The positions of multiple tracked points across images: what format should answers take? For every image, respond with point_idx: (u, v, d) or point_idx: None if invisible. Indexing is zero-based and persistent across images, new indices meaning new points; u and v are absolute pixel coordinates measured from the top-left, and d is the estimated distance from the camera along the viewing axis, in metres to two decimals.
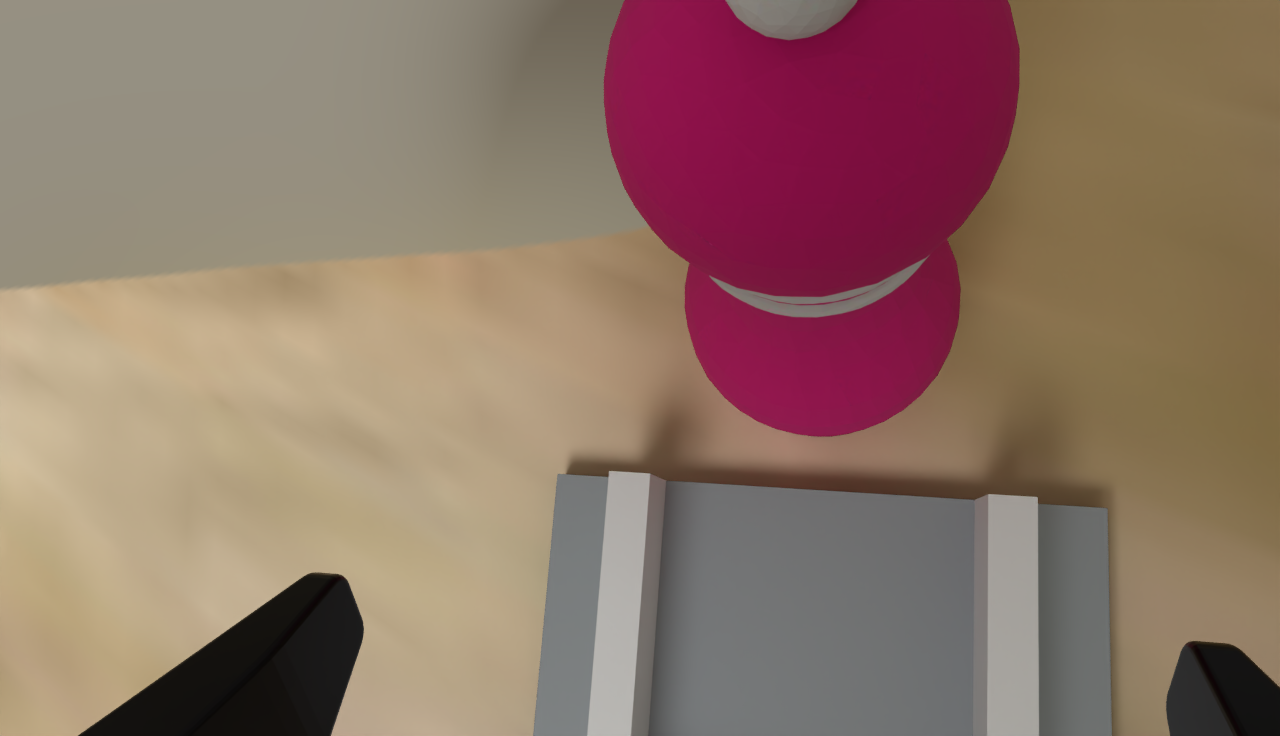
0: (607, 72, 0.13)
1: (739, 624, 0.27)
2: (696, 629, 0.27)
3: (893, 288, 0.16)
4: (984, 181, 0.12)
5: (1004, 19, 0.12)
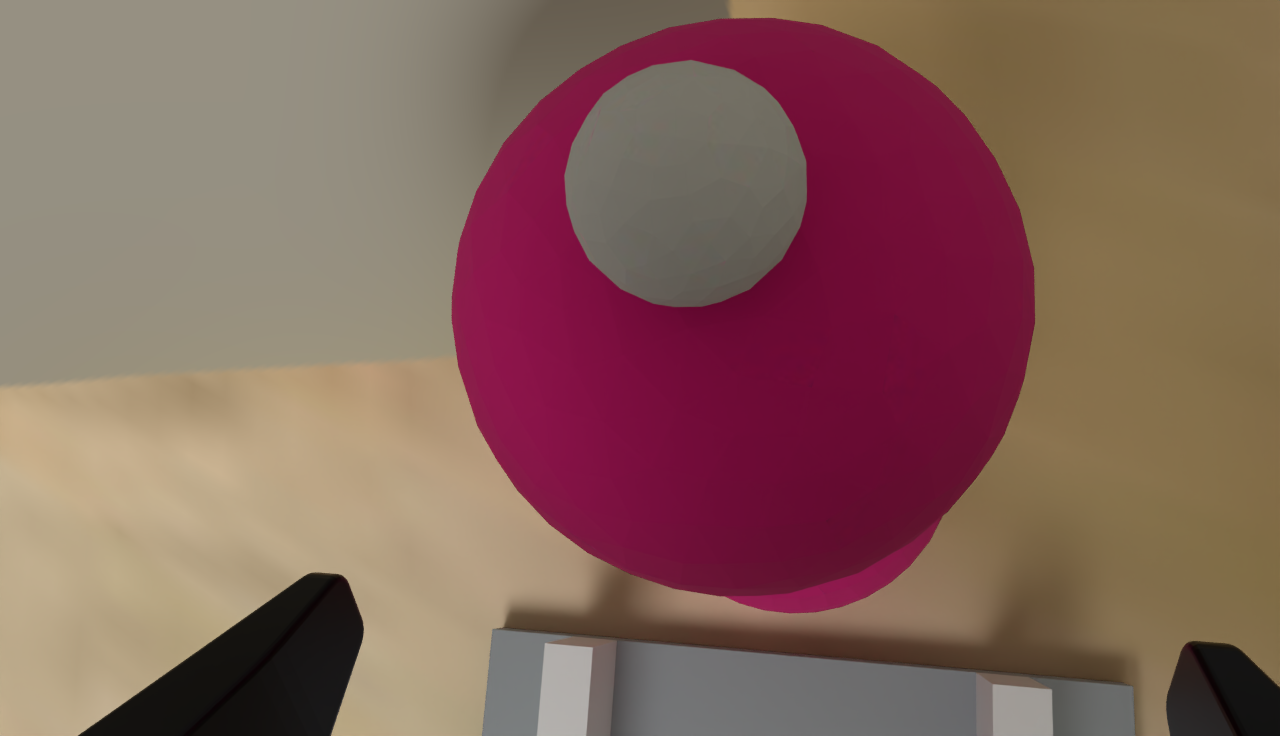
0: (453, 290, 0.09)
1: None
2: None
3: None
4: (986, 459, 0.09)
5: (1013, 240, 0.08)
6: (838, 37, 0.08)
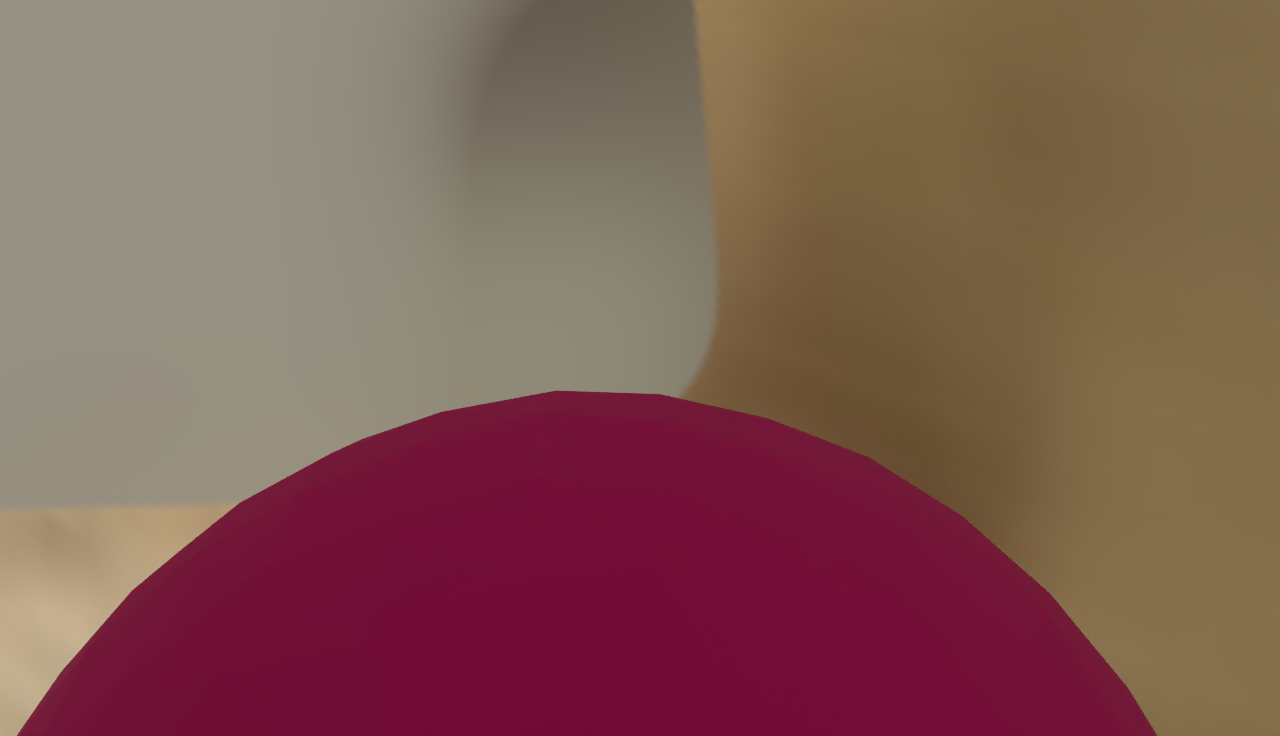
0: None
1: None
2: None
3: None
4: None
5: None
6: (804, 569, 0.03)
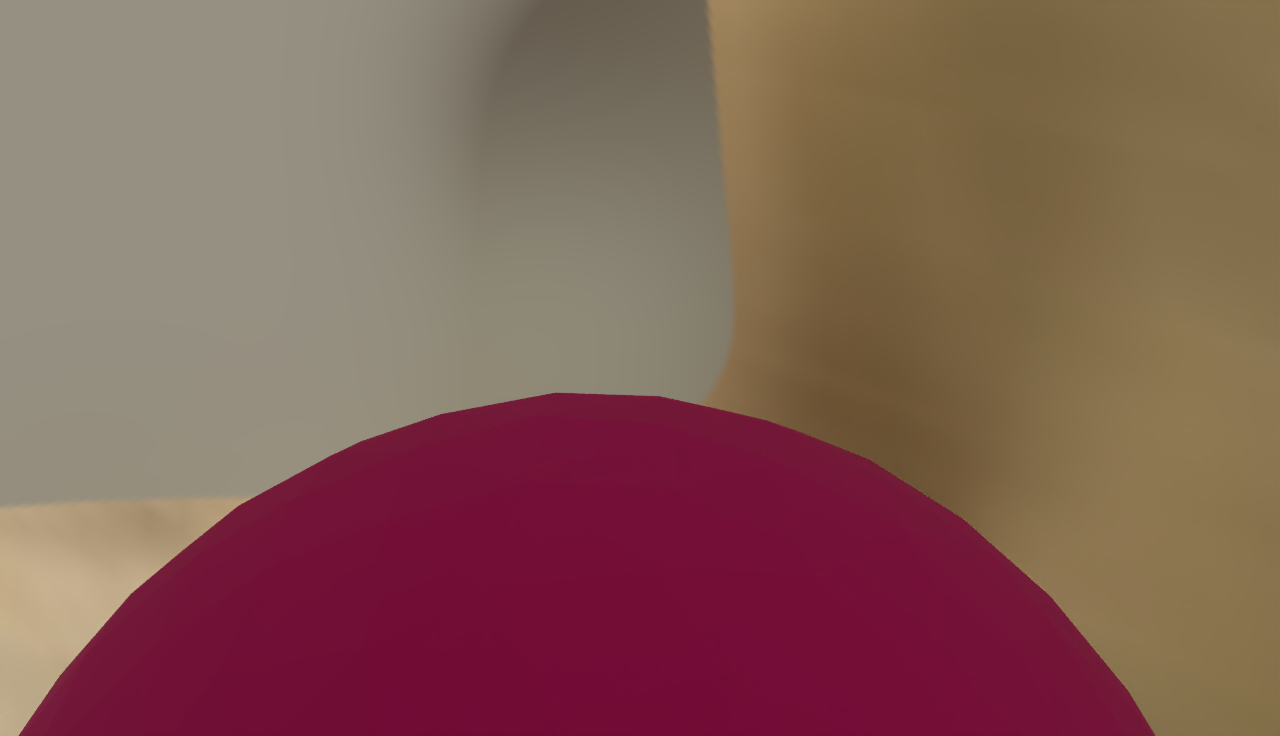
0: None
1: None
2: None
3: None
4: None
5: None
6: (803, 574, 0.03)
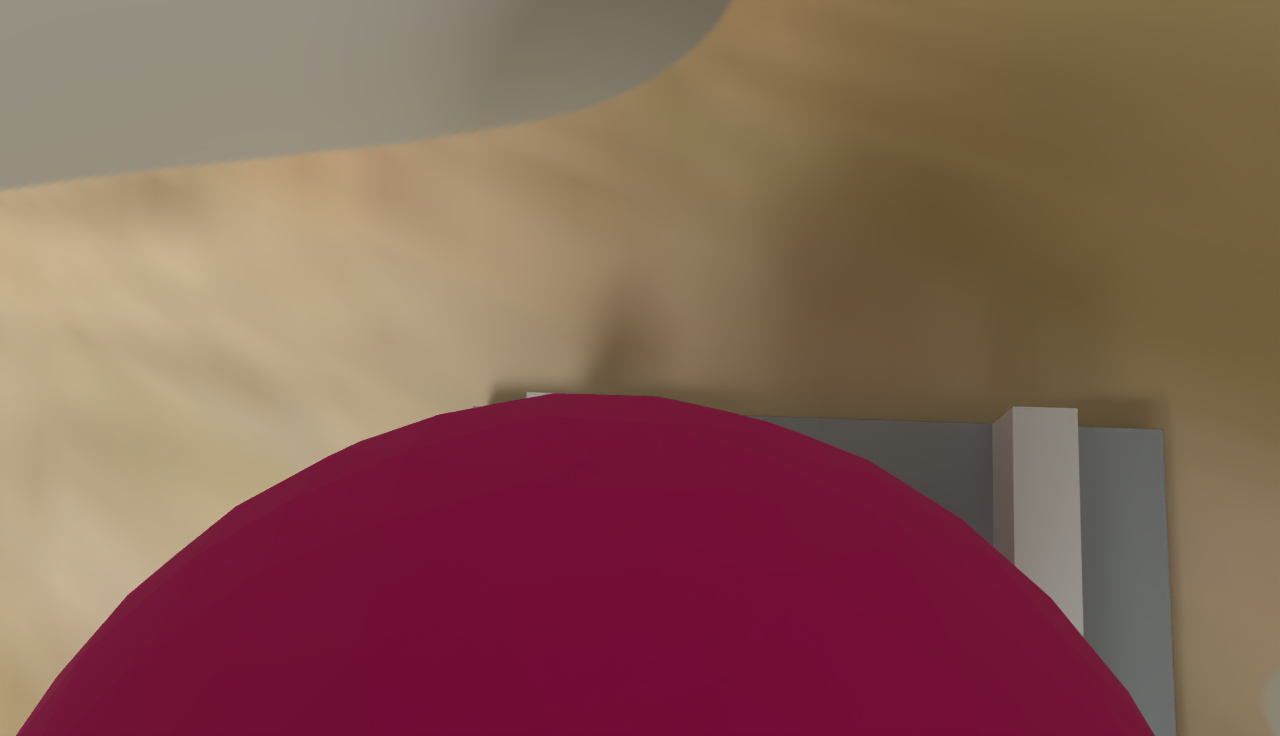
0: None
1: None
2: None
3: None
4: None
5: None
6: (802, 575, 0.03)
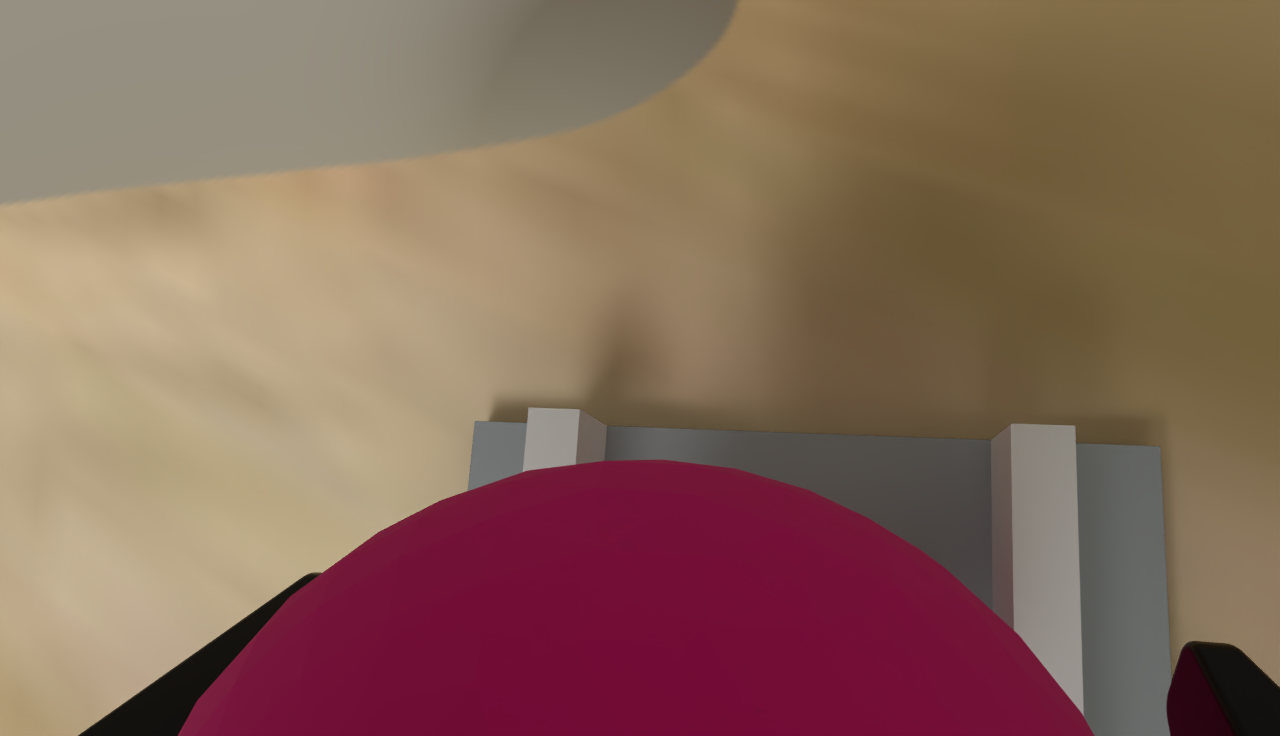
0: None
1: None
2: None
3: None
4: None
5: None
6: (817, 626, 0.04)
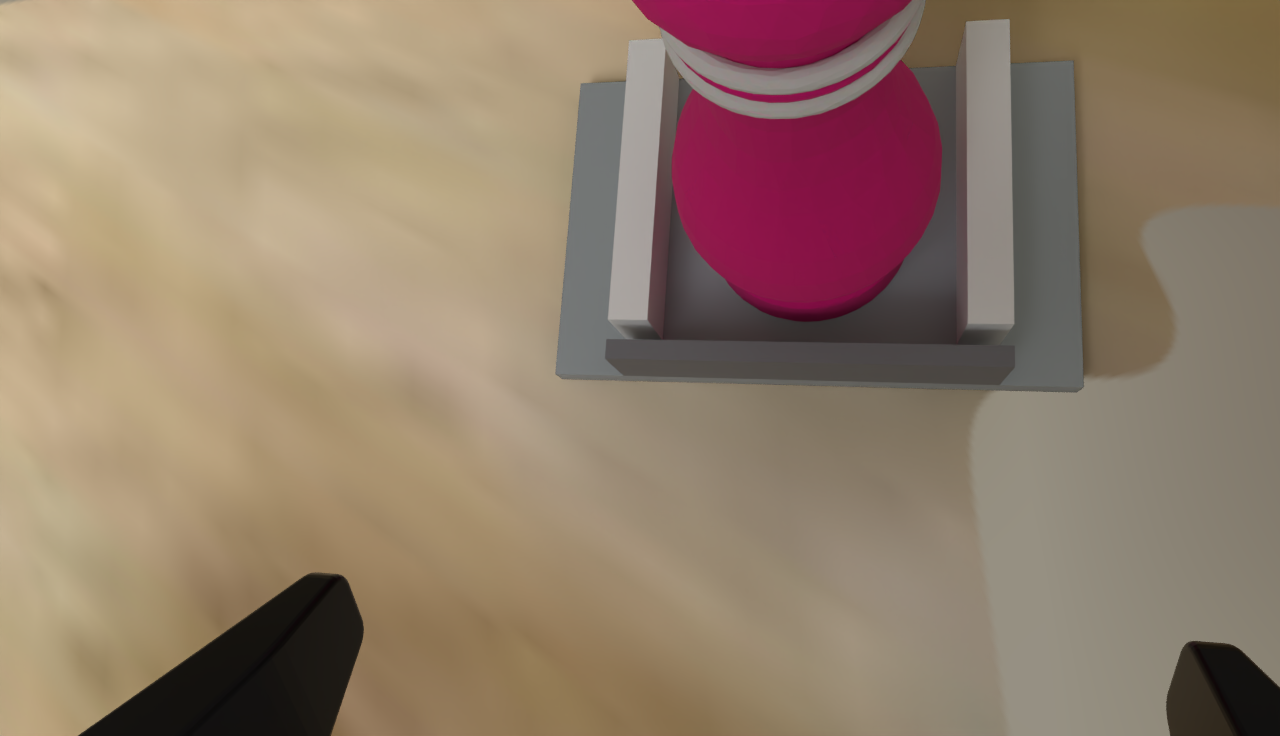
0: None
1: None
2: None
3: (870, 85, 0.17)
4: None
5: None
6: None
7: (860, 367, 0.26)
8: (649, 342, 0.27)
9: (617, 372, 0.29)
